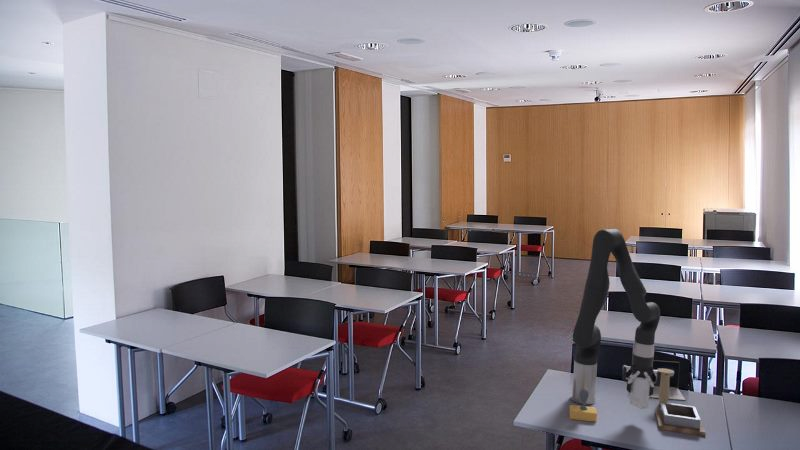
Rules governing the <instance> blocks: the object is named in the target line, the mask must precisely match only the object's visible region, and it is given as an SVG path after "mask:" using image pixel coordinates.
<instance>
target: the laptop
mask: <svg viewBox="0 0 800 450" xmlns="http://www.w3.org/2000/svg"><path fill="white" fill-rule="evenodd" d="M680 365H681V363H680V362H679V361H668V360H667V361H666V360H655V359H653V370H657V369H659V368H664V369H670V370H673V371H674V375H673V376H670V380H669V399H668V400H674V401H686V400H687V399H686V397H684V395H683V394H682V392H681V391H680V389H679V379H680V378H679V377H680ZM650 377H651V379H652V381H653V382H656V376H655V373H653V374H652V375H651V376H650ZM660 380H661V378H660ZM659 387H660V384H659V386H655V387H654V390H653V395H651V396H649V399H650V398H652V399H659Z"/></svg>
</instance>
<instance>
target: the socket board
mask: <svg viewBox="0 0 800 450" xmlns="http://www.w3.org/2000/svg"><path fill="white" fill-rule="evenodd" d="M654 412H655V413H654V414H655V418H656V419H655V420H656V422H657V423H656V424H657V426H658V429H659V430H661V431H669V432H674V433H682V434H689V435H695V436H701V437H706V434H707V432H706V430H705V427H704V425H703V422H702V420H701V417H700V415H699V413H698V411H697V407H696V406H694V405H688V404H687V405H686V404H679V403H671V402H667V403H665V402H661V405H660V409H655V411H654Z"/></svg>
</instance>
